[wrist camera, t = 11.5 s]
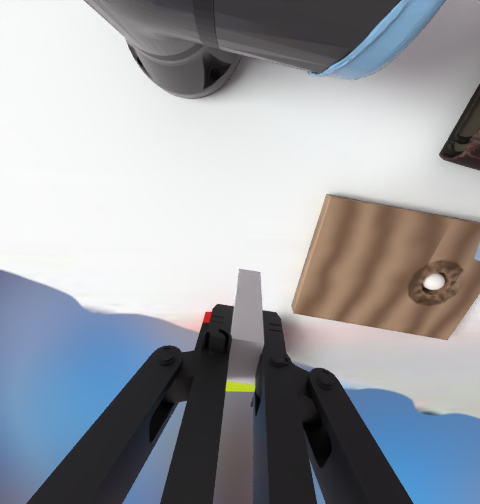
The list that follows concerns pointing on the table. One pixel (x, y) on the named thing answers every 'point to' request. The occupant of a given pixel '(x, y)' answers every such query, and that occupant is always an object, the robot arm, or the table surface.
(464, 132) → the diary
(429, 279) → the ball
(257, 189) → the table surface
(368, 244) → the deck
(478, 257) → the blue block
